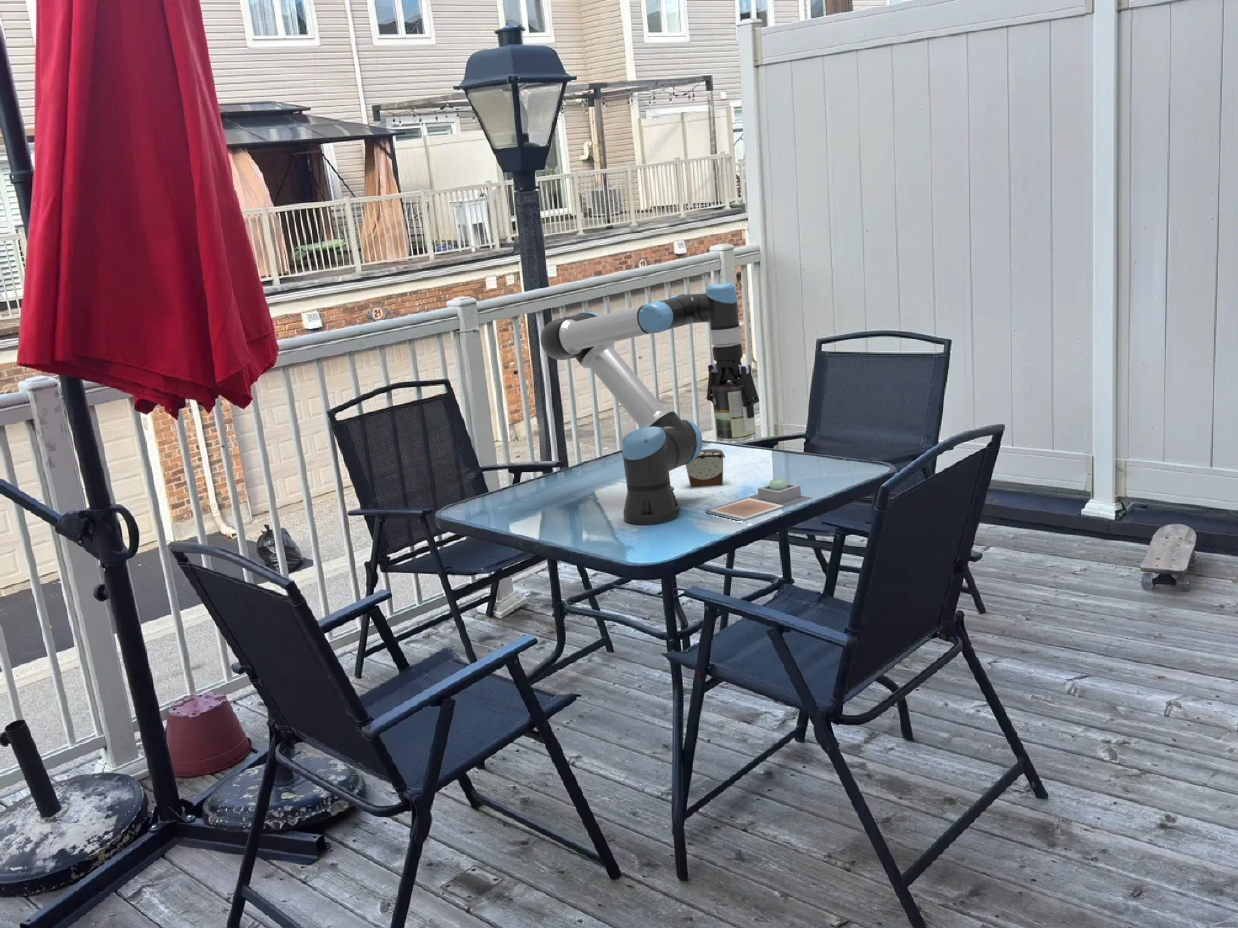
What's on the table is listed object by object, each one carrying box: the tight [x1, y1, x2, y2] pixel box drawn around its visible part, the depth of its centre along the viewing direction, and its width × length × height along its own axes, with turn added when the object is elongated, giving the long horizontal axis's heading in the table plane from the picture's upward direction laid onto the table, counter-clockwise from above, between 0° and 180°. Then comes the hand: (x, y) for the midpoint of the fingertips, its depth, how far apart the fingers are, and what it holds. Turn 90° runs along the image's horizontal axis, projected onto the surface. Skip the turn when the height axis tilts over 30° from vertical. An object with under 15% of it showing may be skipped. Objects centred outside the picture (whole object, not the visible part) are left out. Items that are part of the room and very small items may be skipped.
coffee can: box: [711, 380, 757, 442], centre depth 283 cm, size 10×10×14 cm
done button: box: [769, 478, 789, 491], centre depth 292 cm, size 5×5×3 cm
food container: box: [685, 448, 726, 489], centre depth 318 cm, size 12×6×10 cm, turn 84°
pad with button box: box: [705, 482, 813, 522], centre depth 289 cm, size 24×16×4 cm, turn 125°
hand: (735, 428), depth 284 cm, fingers closed on coffee can, 10 cm apart
